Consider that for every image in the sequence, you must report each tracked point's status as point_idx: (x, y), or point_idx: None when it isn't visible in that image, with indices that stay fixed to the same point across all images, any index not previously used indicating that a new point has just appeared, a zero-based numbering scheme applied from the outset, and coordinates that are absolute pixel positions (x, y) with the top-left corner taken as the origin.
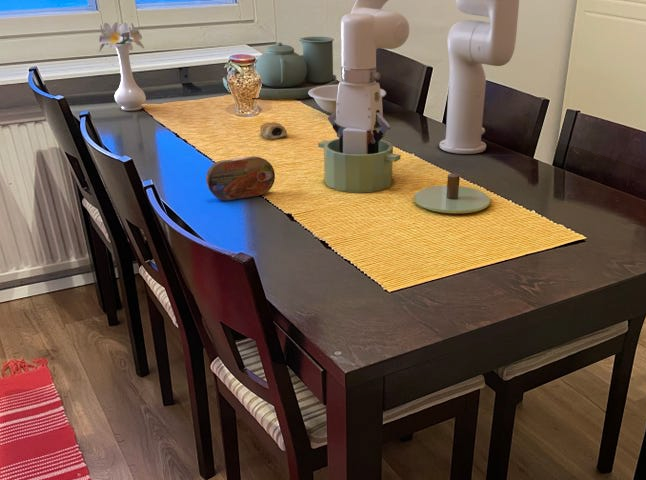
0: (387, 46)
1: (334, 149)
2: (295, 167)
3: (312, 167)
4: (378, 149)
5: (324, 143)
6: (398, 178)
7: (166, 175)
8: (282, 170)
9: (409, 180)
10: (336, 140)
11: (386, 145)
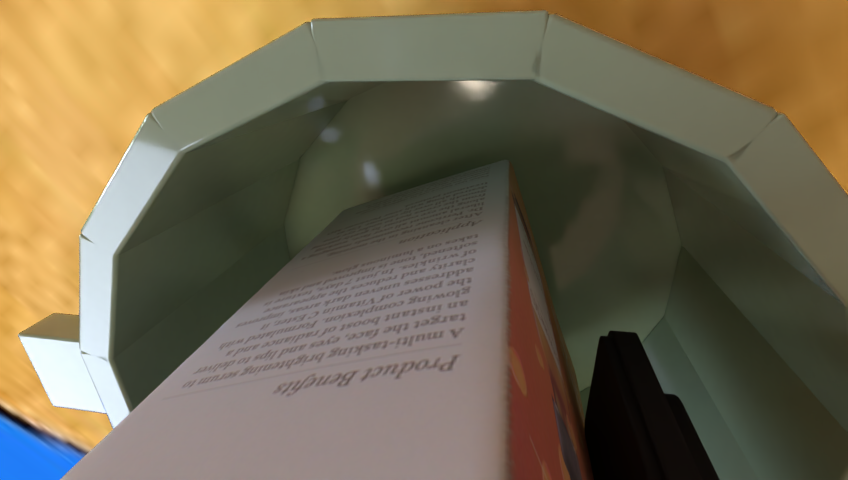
0: None
1: (186, 336)
2: (41, 217)
3: (89, 167)
4: (699, 438)
5: (94, 401)
6: (706, 37)
7: None
8: (51, 288)
9: (827, 29)
10: (116, 355)
11: (711, 159)
